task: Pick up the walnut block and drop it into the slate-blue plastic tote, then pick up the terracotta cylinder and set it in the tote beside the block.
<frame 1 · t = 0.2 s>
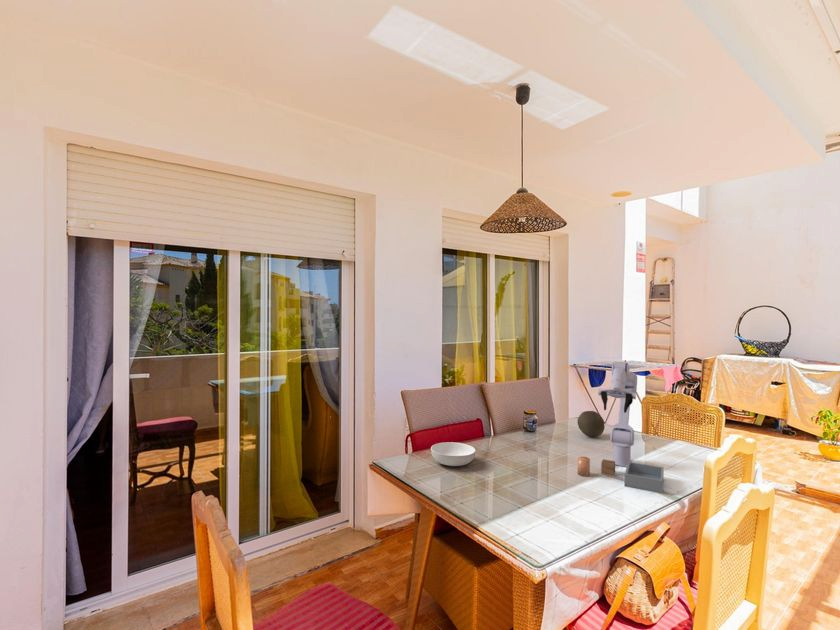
hand: (614, 410, 179), 31 cm above the table, tool tilted 45°, fingers open, 7 cm apart
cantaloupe: (590, 437, 246), on the table
walnut block: (608, 472, 191), on the table
terracotta cylinder: (583, 474, 188), on the table
serving bowl: (453, 463, 201), on the table
tote: (644, 482, 180), on the table
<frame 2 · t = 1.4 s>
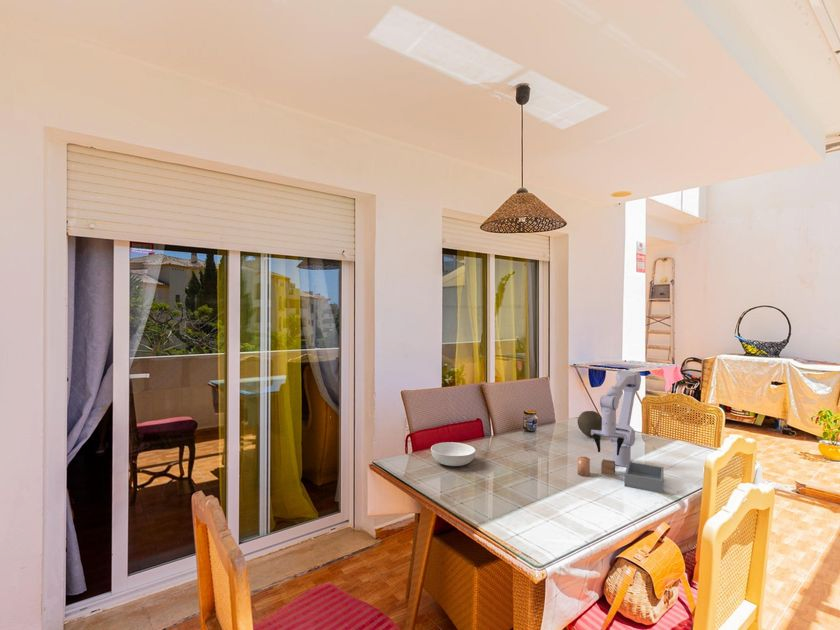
hand: (608, 453, 191), 9 cm above the table, tool pointing down, fingers open, 7 cm apart
nothing on the table moved.
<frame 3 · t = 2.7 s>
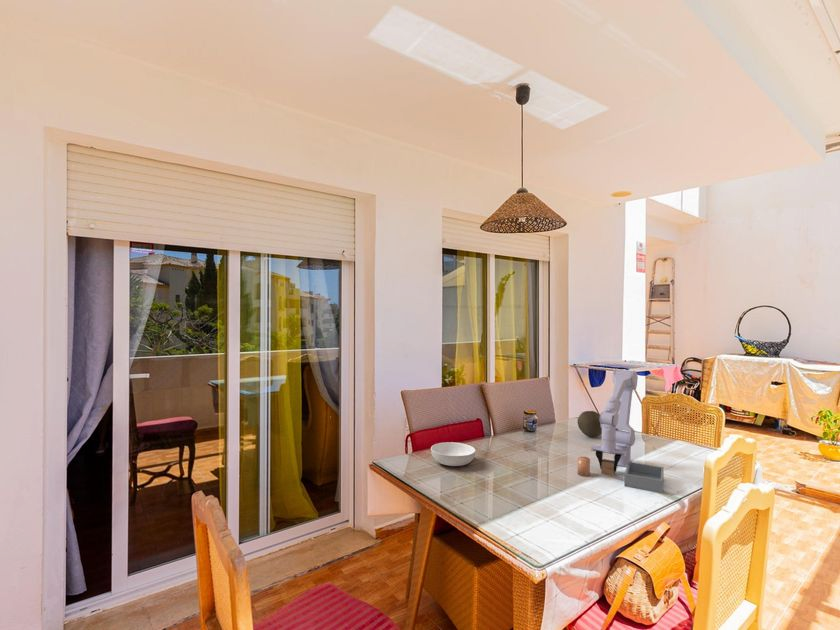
hand: (608, 469, 191), 1 cm above the table, tool pointing down, fingers closed on walnut block, 5 cm apart
walnut block: (608, 472, 191), on the table, touching gripper
everything else where it was.
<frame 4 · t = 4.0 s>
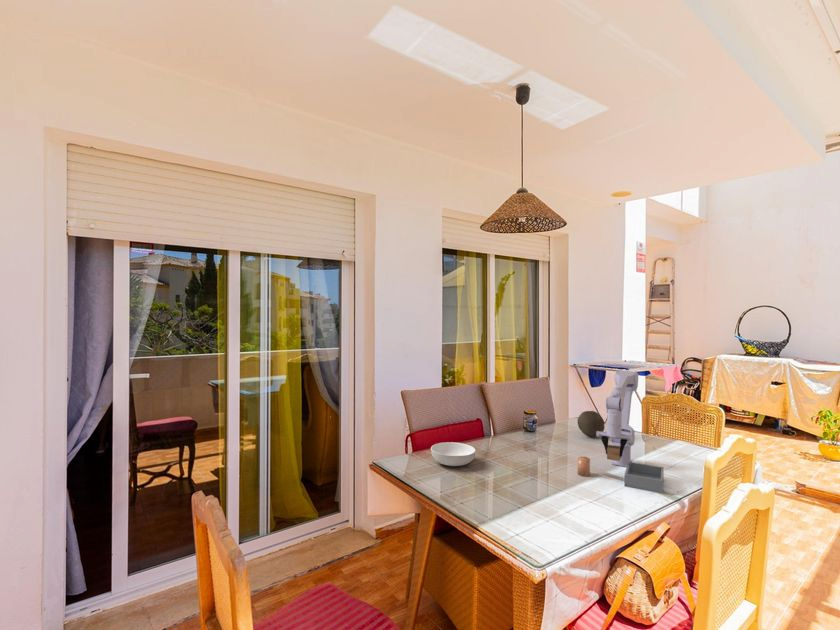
hand: (614, 454, 189), 8 cm above the table, tool pointing down, fingers closed on walnut block, 5 cm apart
walnut block: (613, 458, 189), point 7 cm above the table, touching gripper
everything else where it was.
when the fingers open (5 cm above the table, at t = 5.9 s): walnut block drops 2 cm, resting on tote.
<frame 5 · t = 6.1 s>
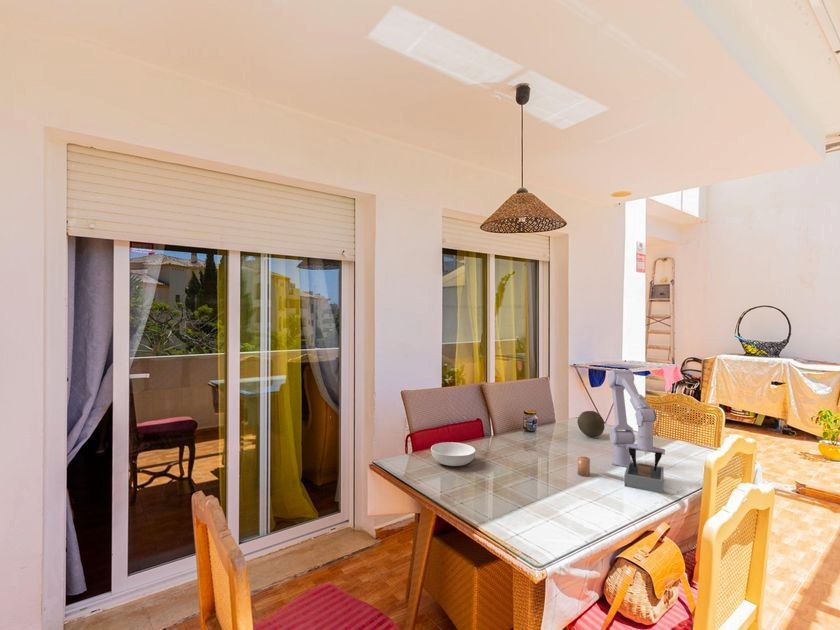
hand: (645, 468, 183), 5 cm above the table, tool pointing down, fingers open, 7 cm apart
walnut block: (644, 477, 183), point 1 cm above the table, touching tote
everything else where it was.
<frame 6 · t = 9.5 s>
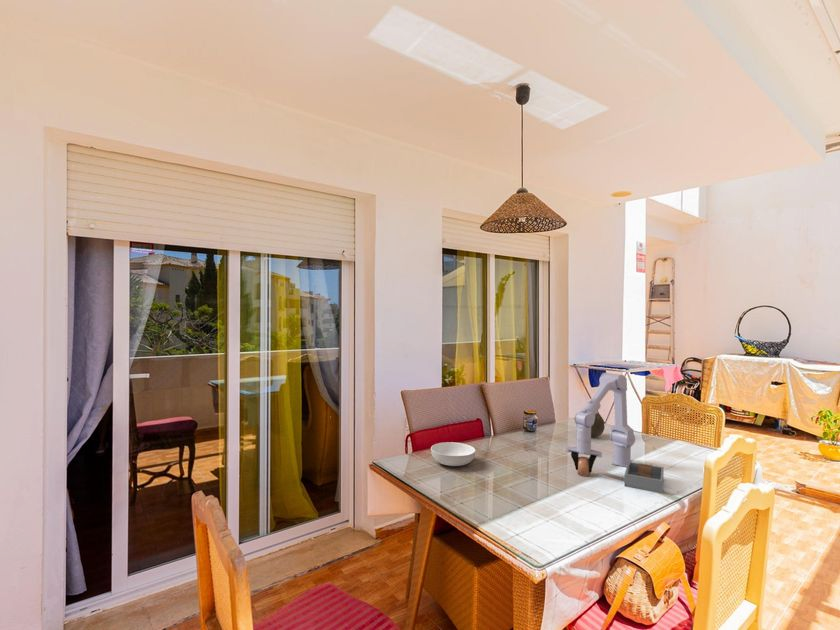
hand: (583, 470, 188), 2 cm above the table, tool pointing down, fingers closed on terracotta cylinder, 5 cm apart
terracotta cylinder: (583, 474, 188), on the table, touching gripper
everything else where it was.
when the fingers open (5 cm above the table, at t = 13.3 s): terracotta cylinder drops 2 cm, resting on tote.
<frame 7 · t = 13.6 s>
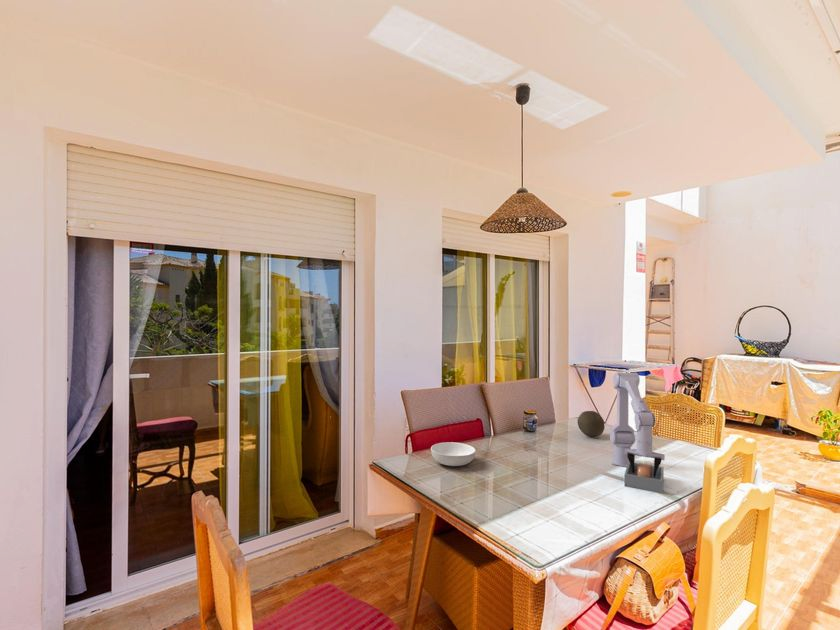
hand: (644, 474, 177), 5 cm above the table, tool pointing down, fingers open, 7 cm apart
terracotta cylinder: (643, 483, 177), point 1 cm above the table, touching tote
everything else where it was.
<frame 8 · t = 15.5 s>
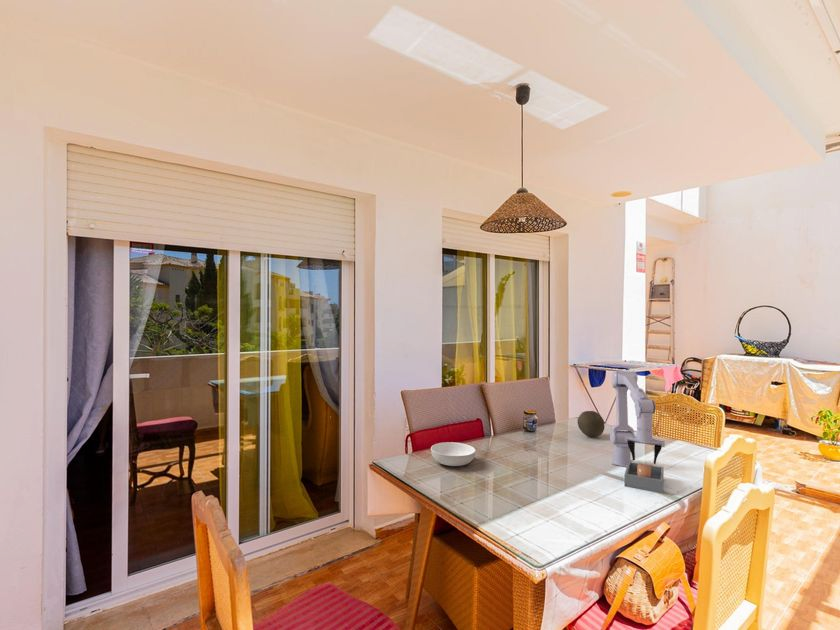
hand: (644, 461, 177), 10 cm above the table, tool pointing down, fingers open, 7 cm apart
nothing on the table moved.
at the end: walnut block inside the target area on the tote (3.4 cm from its centre), point 1.0 cm above the tote's base; terracotta cylinder inside the target area on the tote (3.6 cm from its centre), point 1.0 cm above the tote's base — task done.
